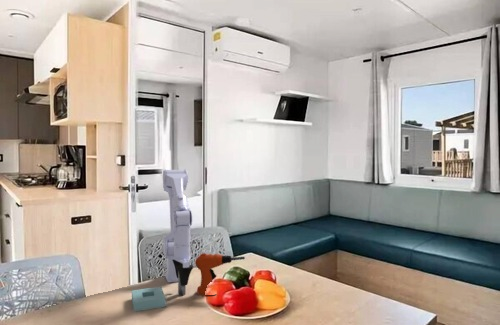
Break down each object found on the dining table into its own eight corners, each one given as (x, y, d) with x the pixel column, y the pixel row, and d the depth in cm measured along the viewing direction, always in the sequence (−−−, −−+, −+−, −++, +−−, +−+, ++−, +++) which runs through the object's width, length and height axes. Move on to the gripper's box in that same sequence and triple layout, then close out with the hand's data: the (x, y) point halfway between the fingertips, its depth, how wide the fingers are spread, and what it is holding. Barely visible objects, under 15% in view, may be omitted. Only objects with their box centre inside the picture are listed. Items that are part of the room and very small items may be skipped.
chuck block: (131, 298, 122) (131, 290, 122) (161, 294, 126) (161, 286, 126) (133, 311, 113) (133, 302, 113) (165, 306, 117) (165, 297, 117)
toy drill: (248, 293, 125) (243, 251, 124) (196, 297, 126) (191, 256, 126) (249, 288, 130) (244, 247, 129) (199, 292, 131) (194, 252, 131)
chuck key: (177, 293, 128) (177, 266, 127) (184, 292, 129) (184, 265, 128) (178, 296, 125) (179, 268, 125) (186, 295, 126) (186, 267, 126)
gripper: (167, 239, 131) (167, 275, 132) (174, 250, 118) (174, 290, 119) (186, 238, 134) (186, 273, 135) (195, 248, 121) (195, 287, 121)
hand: (181, 281), depth 127 cm, fingers open, 7 cm apart
